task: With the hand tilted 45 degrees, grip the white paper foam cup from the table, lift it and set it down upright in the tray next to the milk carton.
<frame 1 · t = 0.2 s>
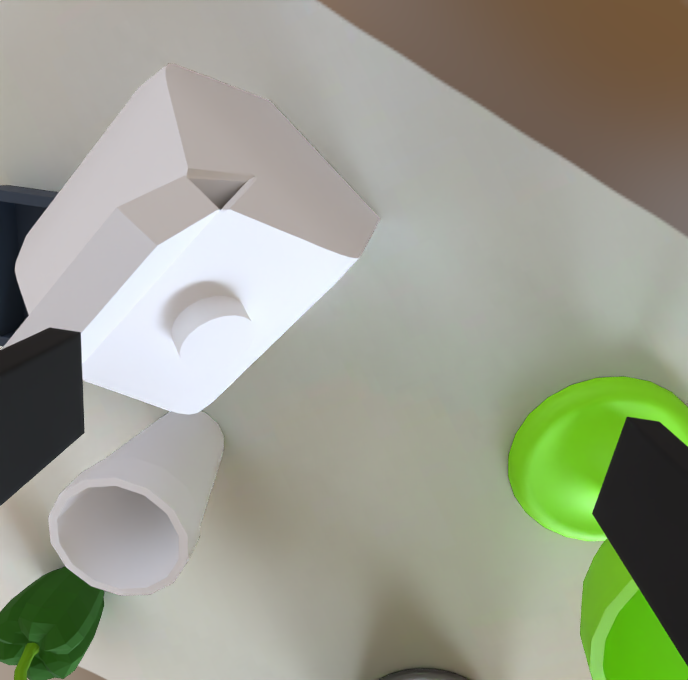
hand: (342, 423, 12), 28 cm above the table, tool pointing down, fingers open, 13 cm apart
milk: (272, 219, 38), on the table
bell pepper: (80, 582, 51), on the table
wineglass: (601, 461, 43), on the table
foam cup: (190, 438, 45), on the table
tray: (87, 272, 41), on the table
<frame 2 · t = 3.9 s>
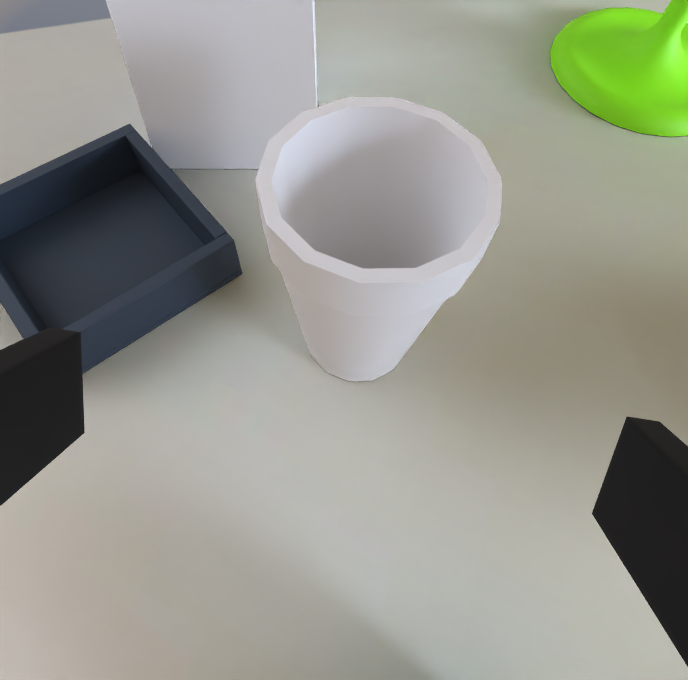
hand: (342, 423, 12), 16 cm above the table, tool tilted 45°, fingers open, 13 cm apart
milk: (244, 113, 39), on the table
wineglass: (640, 72, 43), on the table
foam cup: (356, 335, 31), on the table
tray: (111, 260, 32), on the table
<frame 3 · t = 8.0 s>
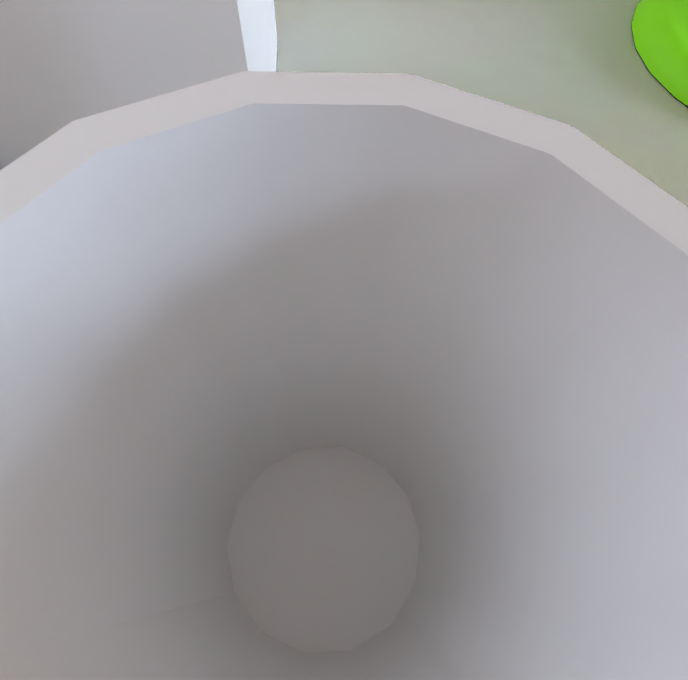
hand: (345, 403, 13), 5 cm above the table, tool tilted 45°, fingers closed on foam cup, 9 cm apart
milk: (155, 116, 24), on the table
foam cup: (324, 543, 16), on the table, touching gripper
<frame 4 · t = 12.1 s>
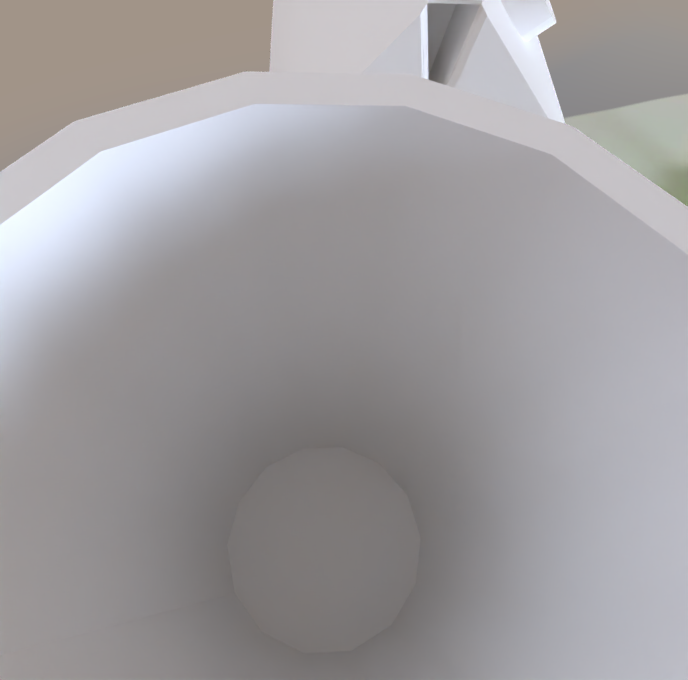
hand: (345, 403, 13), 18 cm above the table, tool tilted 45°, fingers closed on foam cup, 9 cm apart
milk: (365, 316, 35), on the table
foam cup: (324, 543, 16), point 13 cm above the table, touching gripper
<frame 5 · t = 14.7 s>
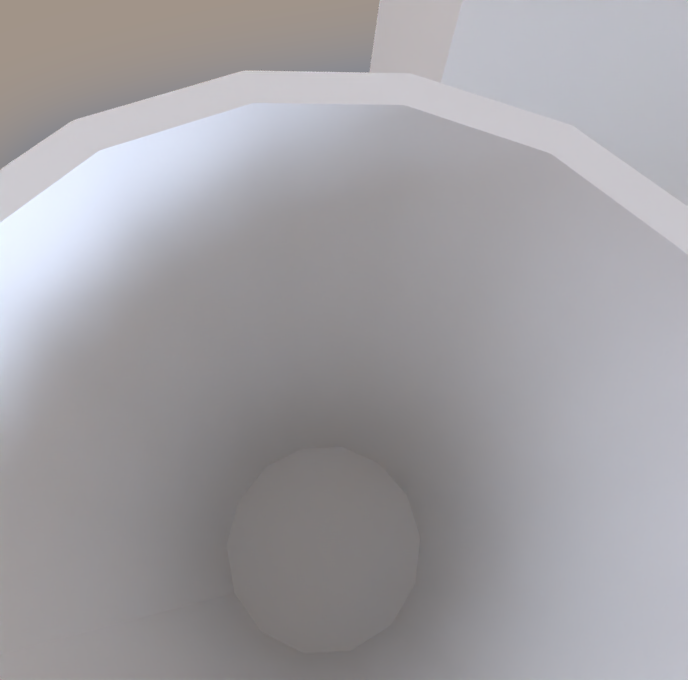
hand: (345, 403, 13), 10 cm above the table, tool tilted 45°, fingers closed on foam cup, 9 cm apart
milk: (459, 273, 28), on the table
foam cup: (324, 543, 16), point 5 cm above the table, touching gripper
when the fingers open (5 cm above the table, at t = 16.7 s): foam cup stays where it is, resting on tray.
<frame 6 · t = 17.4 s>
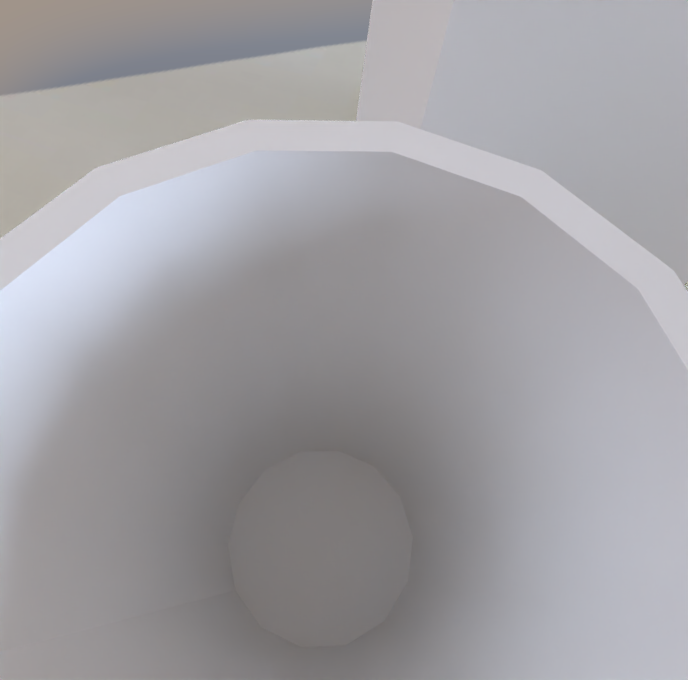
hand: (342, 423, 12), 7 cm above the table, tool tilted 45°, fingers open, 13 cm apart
milk: (479, 223, 24), on the table
foam cup: (321, 543, 17), resting on tray
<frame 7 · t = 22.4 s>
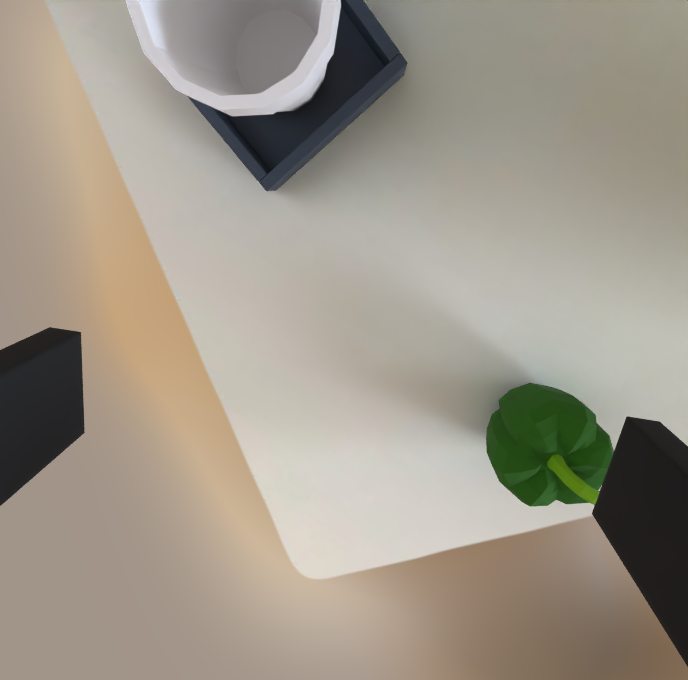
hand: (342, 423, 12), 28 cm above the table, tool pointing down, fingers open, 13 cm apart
bell pepper: (523, 415, 42), on the table
foam cup: (281, 63, 34), resting on tray
tray: (281, 63, 35), on the table
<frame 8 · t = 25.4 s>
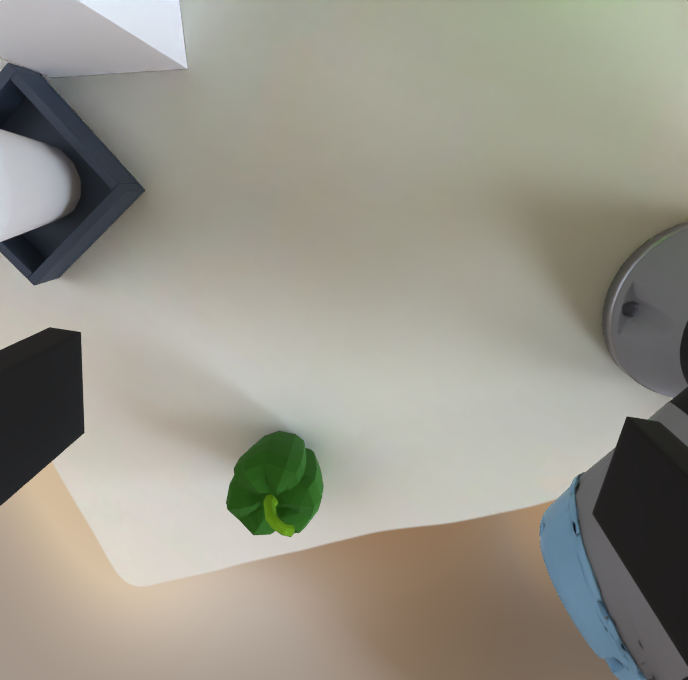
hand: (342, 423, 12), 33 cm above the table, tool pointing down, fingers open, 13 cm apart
bell pepper: (285, 455, 50), on the table
foam cup: (47, 181, 43), resting on tray
tray: (49, 181, 43), on the table
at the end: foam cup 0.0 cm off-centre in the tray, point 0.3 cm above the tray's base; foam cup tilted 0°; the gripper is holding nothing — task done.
